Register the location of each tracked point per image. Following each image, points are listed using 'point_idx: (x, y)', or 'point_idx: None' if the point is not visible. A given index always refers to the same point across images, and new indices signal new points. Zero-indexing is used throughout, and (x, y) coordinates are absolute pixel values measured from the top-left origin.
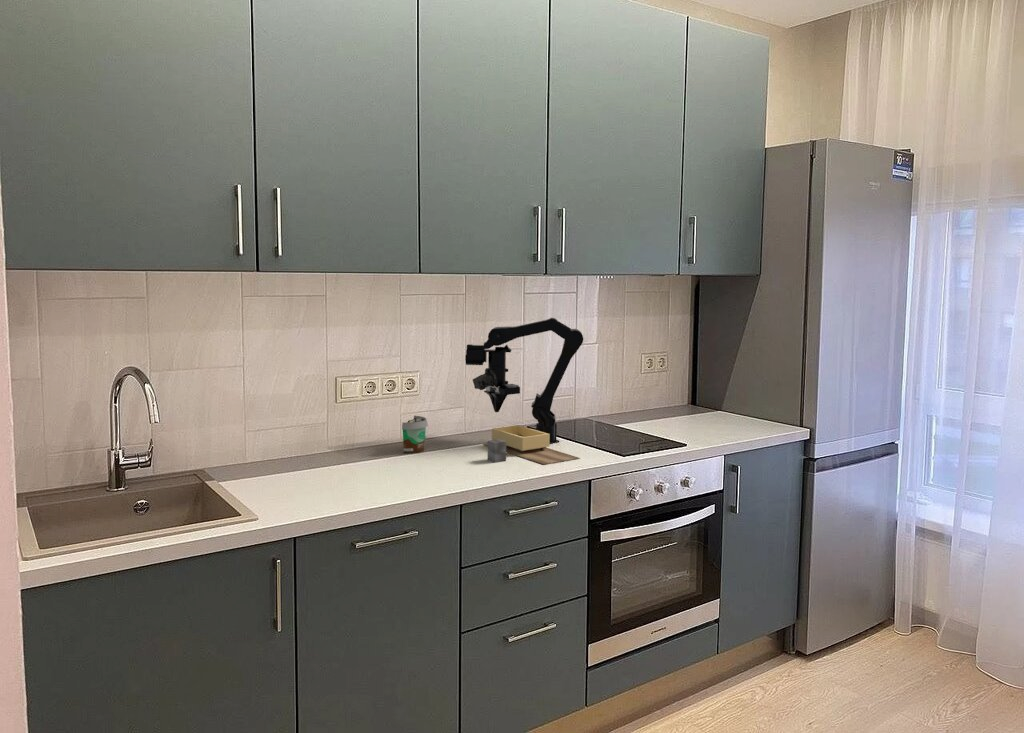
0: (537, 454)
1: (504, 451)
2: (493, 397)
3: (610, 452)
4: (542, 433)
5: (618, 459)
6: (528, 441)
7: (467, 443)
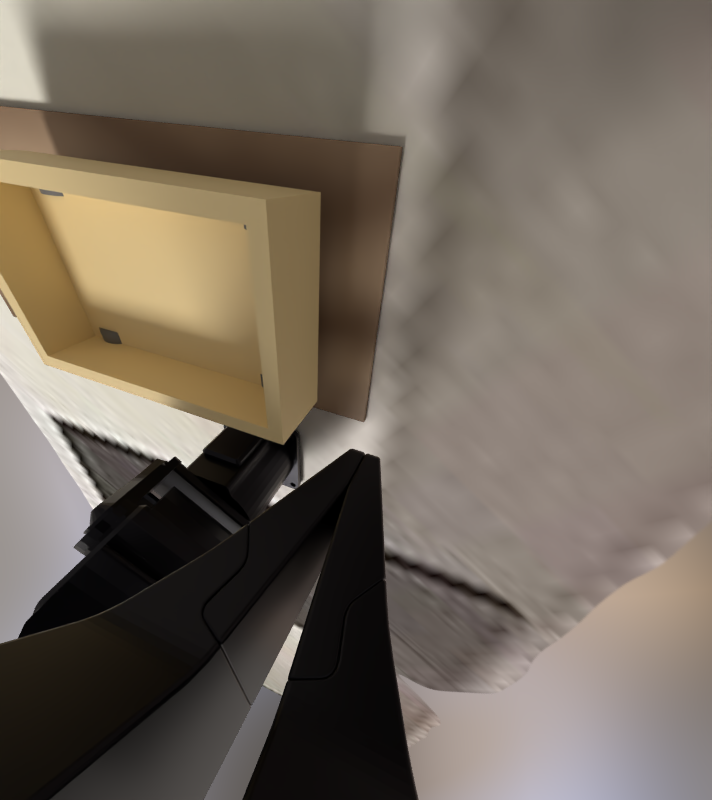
0: None
1: None
2: (292, 682)
3: (93, 434)
4: (74, 362)
5: (21, 384)
6: None
7: (558, 24)
